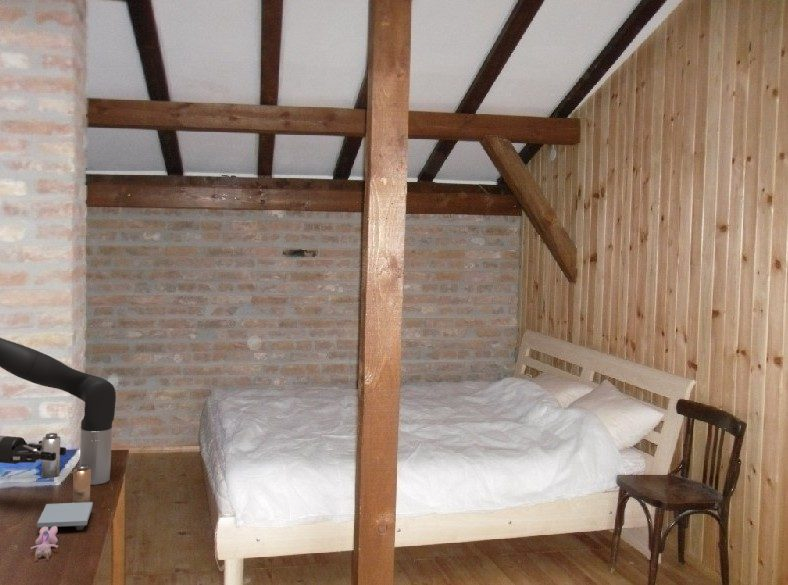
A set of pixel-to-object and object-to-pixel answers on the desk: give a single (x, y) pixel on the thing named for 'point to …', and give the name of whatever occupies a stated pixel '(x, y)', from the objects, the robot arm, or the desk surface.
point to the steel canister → (51, 445)
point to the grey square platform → (65, 515)
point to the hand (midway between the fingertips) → (60, 454)
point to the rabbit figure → (45, 542)
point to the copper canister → (81, 484)
